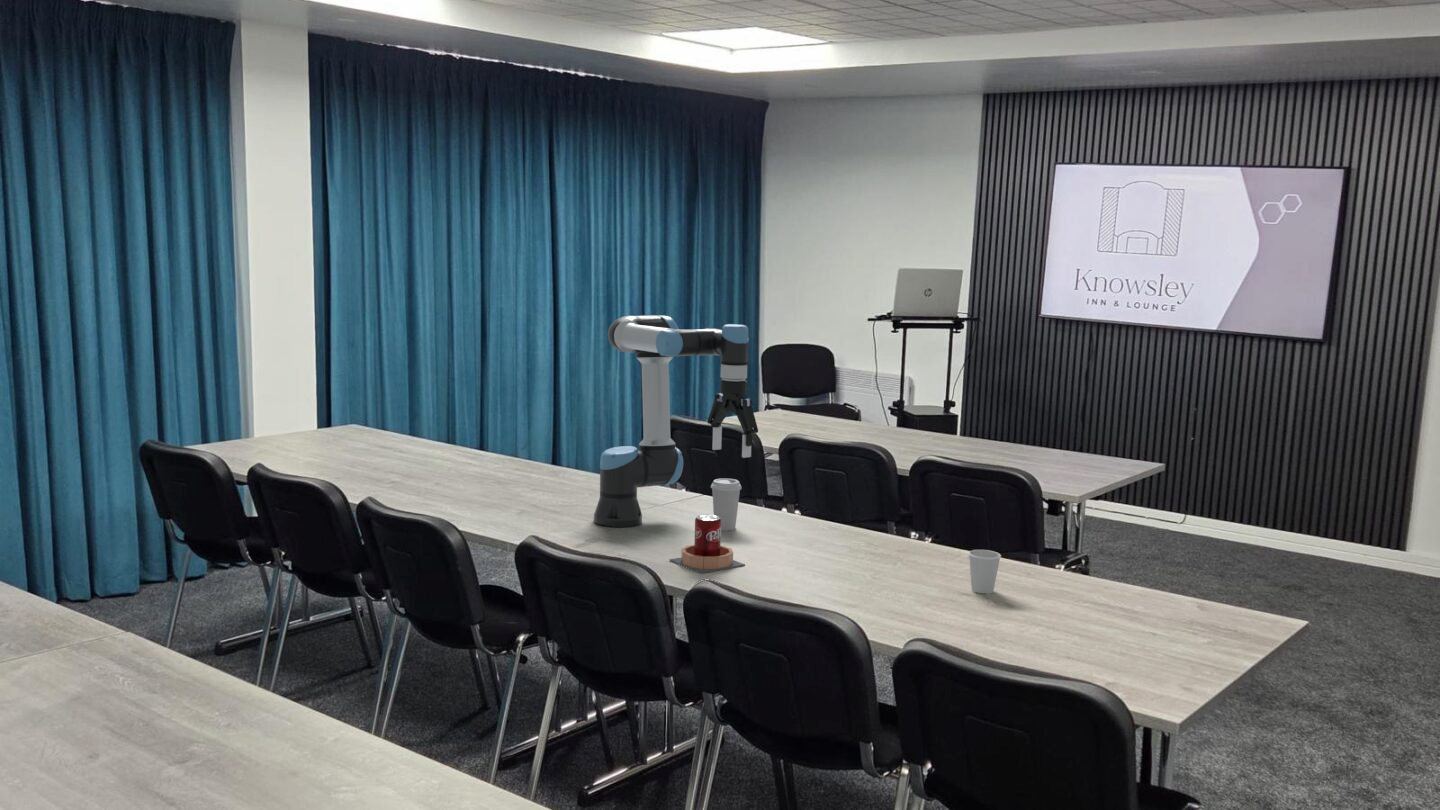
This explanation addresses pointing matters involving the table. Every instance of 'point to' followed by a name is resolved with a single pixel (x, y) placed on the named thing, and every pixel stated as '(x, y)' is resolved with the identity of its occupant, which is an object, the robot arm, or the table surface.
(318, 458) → the table surface
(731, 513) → the coffee cup
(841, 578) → the table surface
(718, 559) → the bowl
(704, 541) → the soda can
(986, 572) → the dixie cup
